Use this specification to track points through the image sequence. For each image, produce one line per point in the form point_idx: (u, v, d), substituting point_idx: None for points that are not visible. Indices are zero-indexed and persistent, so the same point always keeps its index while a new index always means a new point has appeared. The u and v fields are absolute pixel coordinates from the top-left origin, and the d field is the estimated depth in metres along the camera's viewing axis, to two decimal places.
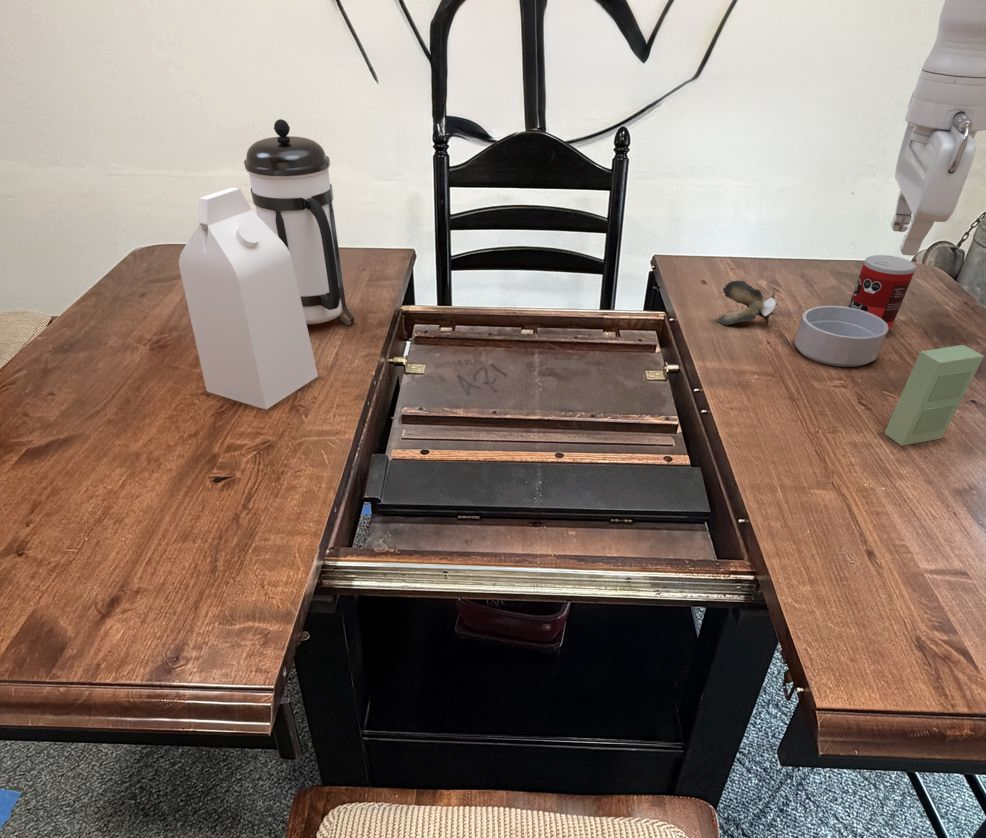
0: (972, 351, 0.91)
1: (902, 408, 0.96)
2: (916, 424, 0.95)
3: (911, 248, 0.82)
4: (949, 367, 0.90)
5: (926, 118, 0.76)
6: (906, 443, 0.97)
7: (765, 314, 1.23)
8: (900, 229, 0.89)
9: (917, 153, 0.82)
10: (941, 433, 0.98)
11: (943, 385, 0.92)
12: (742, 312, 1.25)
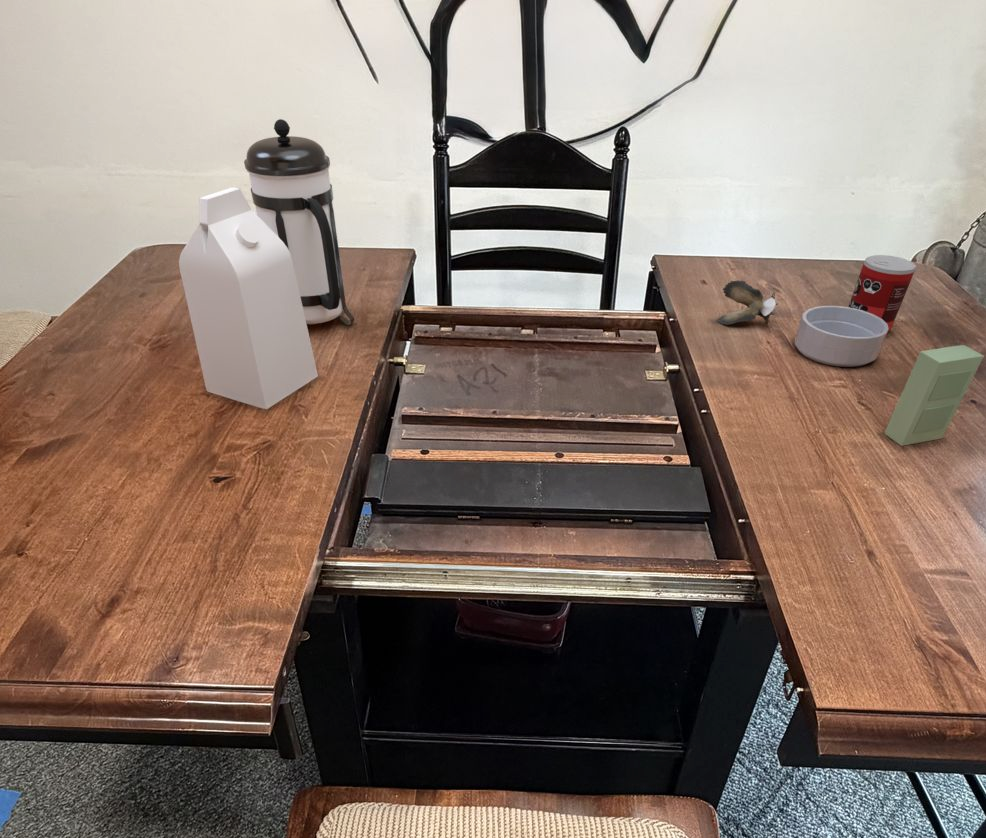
0: (972, 351, 0.91)
1: (902, 408, 0.96)
2: (916, 424, 0.95)
3: None
4: (949, 367, 0.90)
5: None
6: (906, 443, 0.97)
7: (765, 314, 1.23)
8: None
9: None
10: (941, 433, 0.98)
11: (943, 385, 0.92)
12: (742, 312, 1.25)
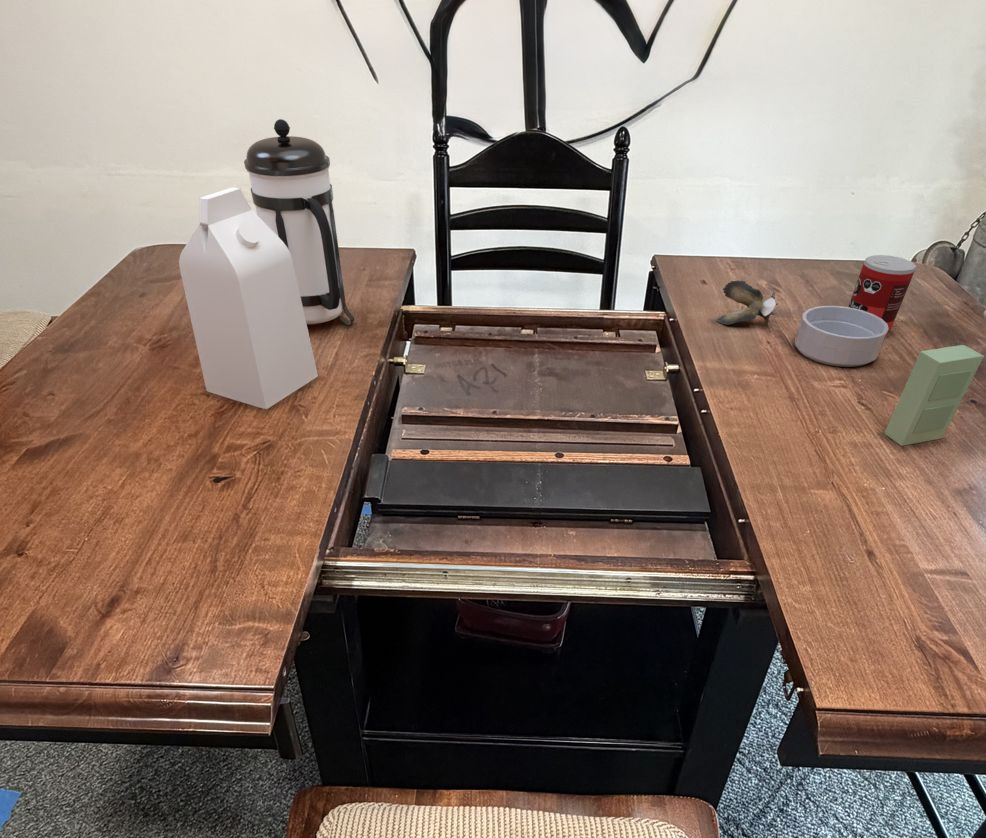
0: (972, 351, 0.91)
1: (902, 408, 0.96)
2: (916, 424, 0.95)
3: None
4: (949, 367, 0.90)
5: None
6: (906, 443, 0.97)
7: (765, 314, 1.23)
8: None
9: None
10: (941, 433, 0.98)
11: (943, 385, 0.92)
12: (742, 312, 1.25)
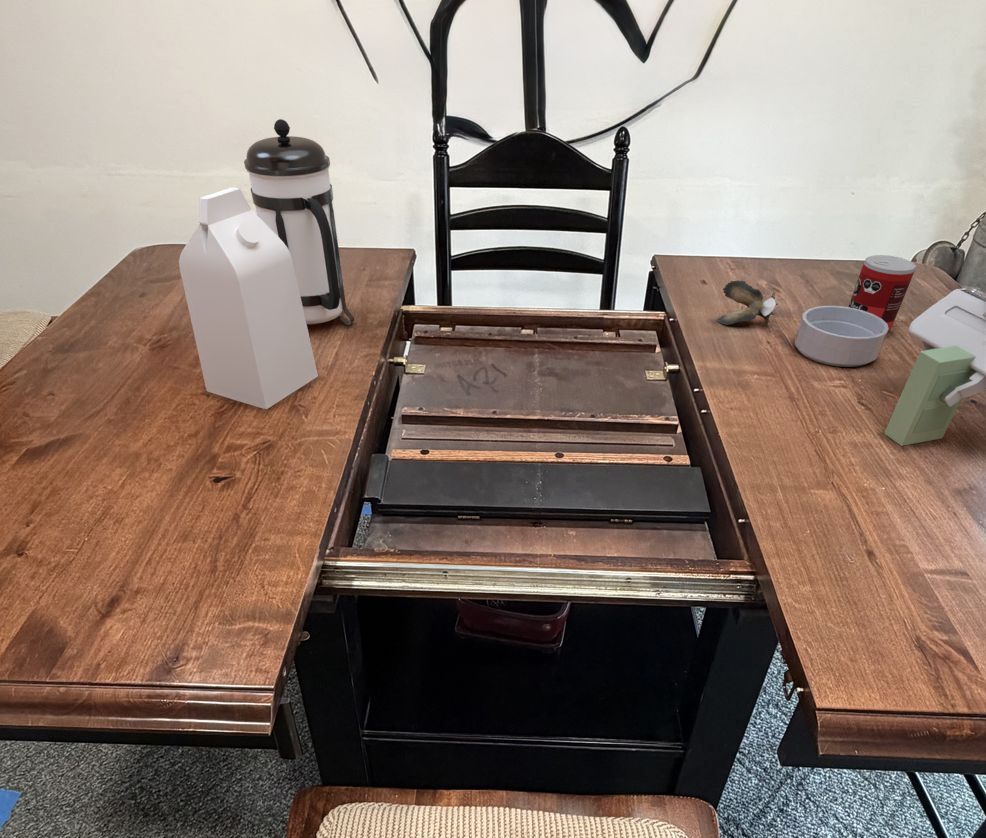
0: None
1: (902, 408, 0.96)
2: (916, 424, 0.95)
3: None
4: (949, 367, 0.90)
5: None
6: (906, 443, 0.97)
7: (765, 314, 1.23)
8: None
9: None
10: (941, 433, 0.98)
11: (943, 385, 0.92)
12: (742, 312, 1.25)
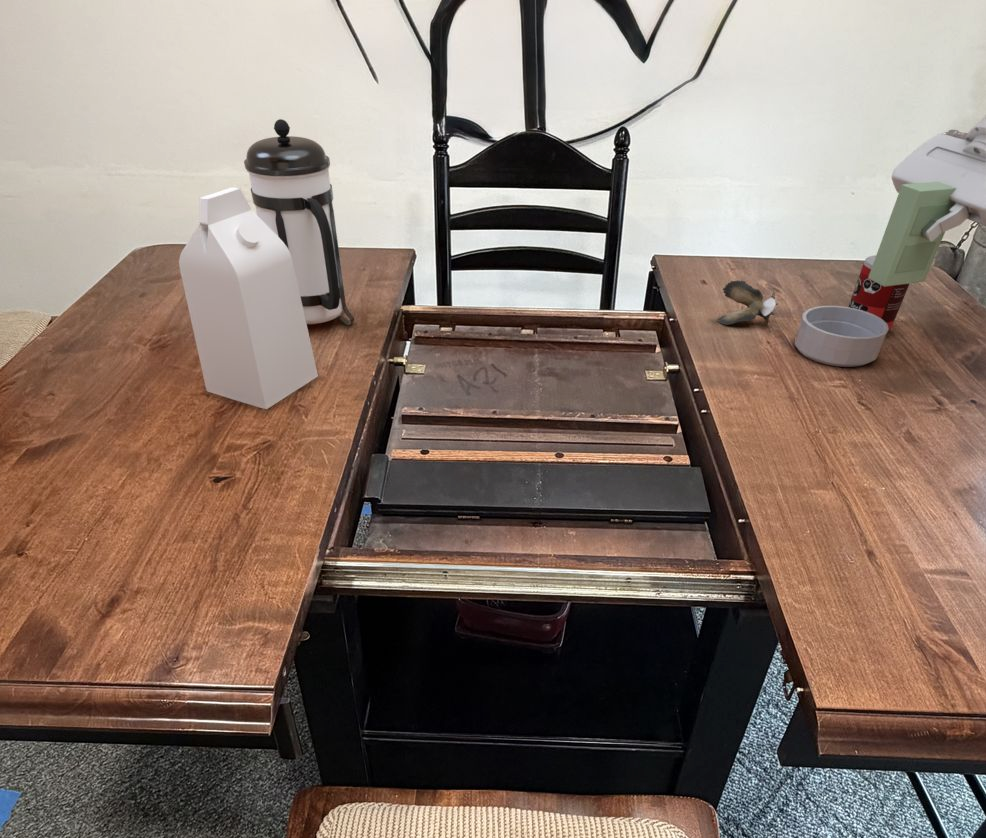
0: None
1: (885, 247, 0.98)
2: (899, 262, 0.98)
3: None
4: (930, 197, 0.93)
5: None
6: (889, 284, 1.00)
7: (765, 314, 1.23)
8: None
9: None
10: (923, 275, 1.01)
11: (924, 218, 0.94)
12: (742, 312, 1.25)
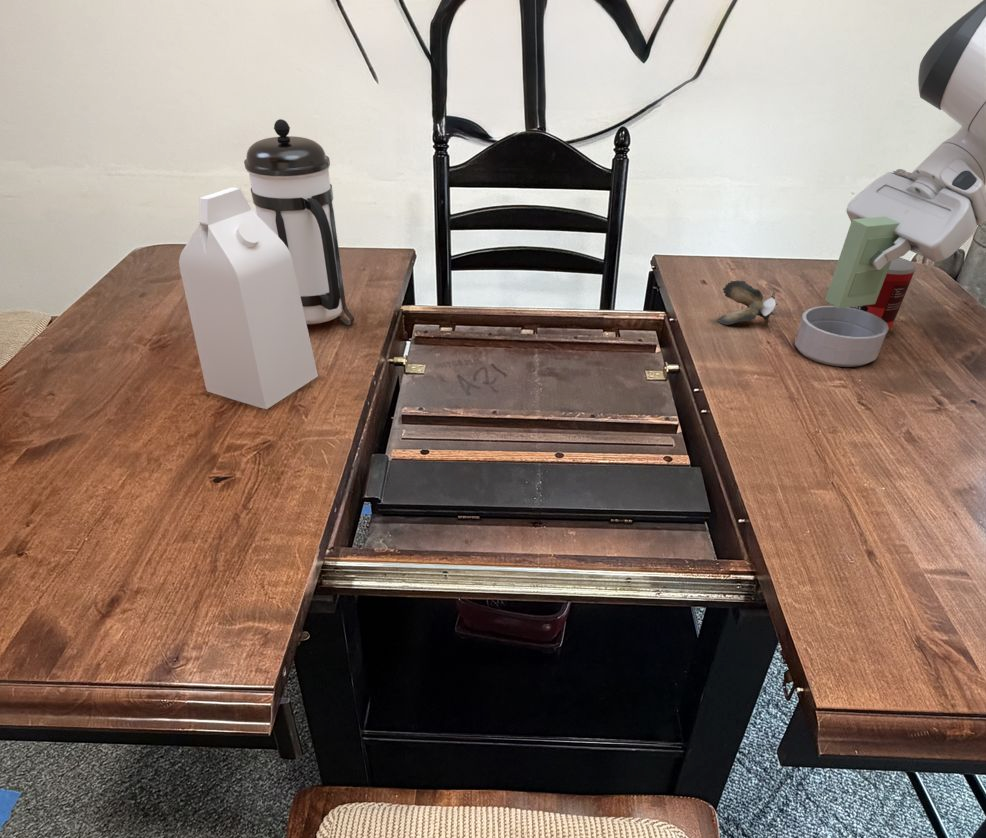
0: None
1: (839, 274, 1.10)
2: (850, 287, 1.10)
3: None
4: (876, 231, 1.04)
5: None
6: (843, 306, 1.12)
7: (765, 314, 1.23)
8: None
9: None
10: (873, 299, 1.13)
11: (872, 249, 1.06)
12: (742, 312, 1.25)
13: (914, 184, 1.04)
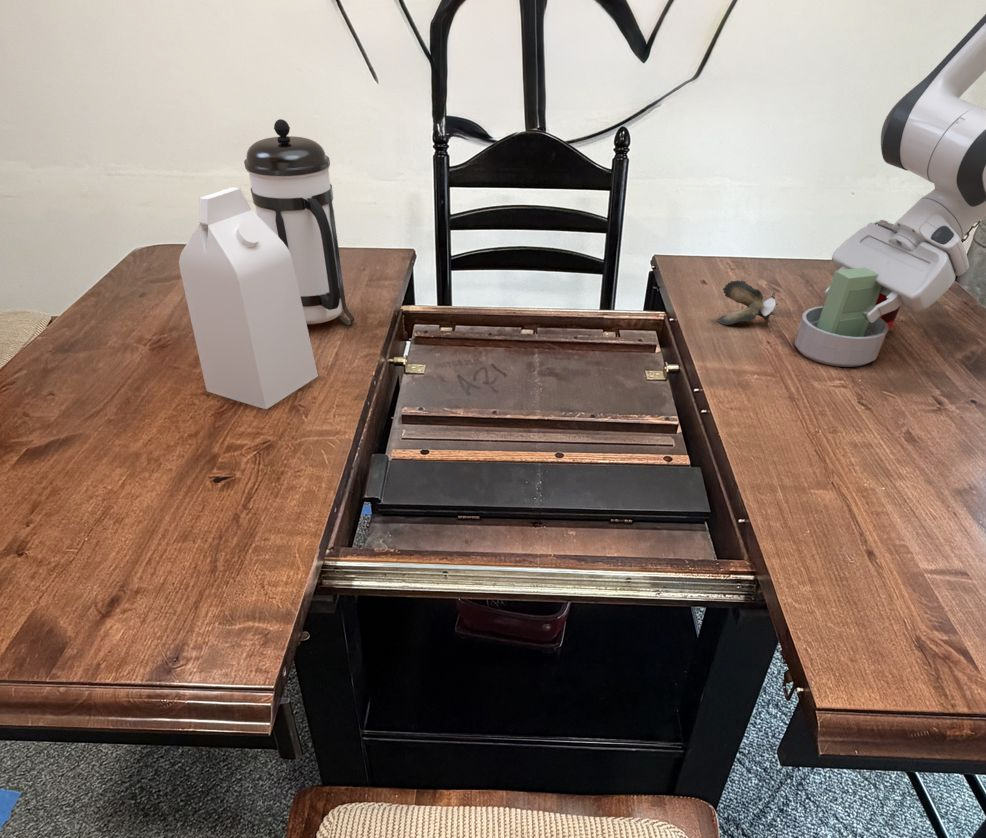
0: None
1: (823, 321, 1.15)
2: None
3: None
4: (858, 283, 1.09)
5: None
6: None
7: (765, 314, 1.23)
8: None
9: None
10: None
11: (854, 299, 1.11)
12: (742, 312, 1.25)
13: (895, 236, 1.09)
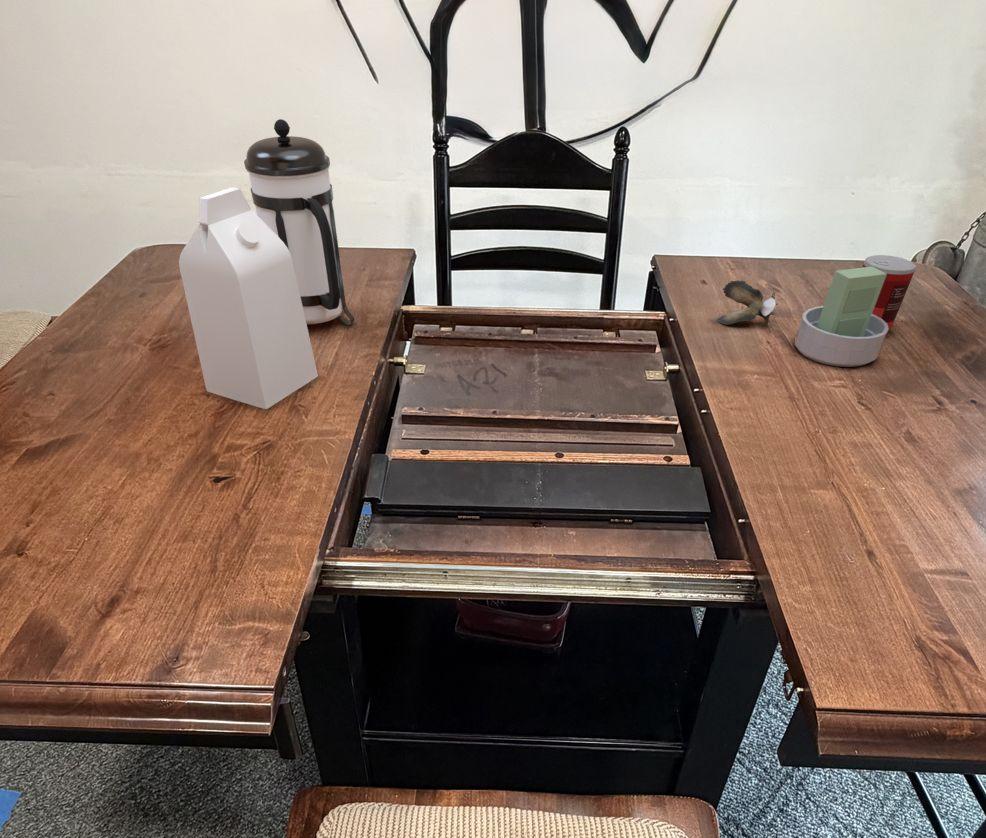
0: (878, 270, 1.11)
1: (823, 321, 1.15)
2: None
3: None
4: (858, 283, 1.09)
5: None
6: None
7: (765, 314, 1.23)
8: None
9: None
10: None
11: (854, 299, 1.11)
12: (742, 312, 1.25)
13: None
